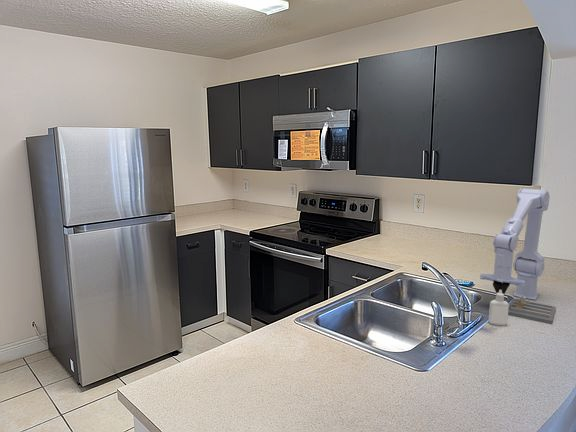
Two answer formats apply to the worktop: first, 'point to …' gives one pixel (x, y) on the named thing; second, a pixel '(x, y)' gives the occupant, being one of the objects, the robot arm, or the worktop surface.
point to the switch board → (533, 311)
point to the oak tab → (519, 304)
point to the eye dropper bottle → (498, 310)
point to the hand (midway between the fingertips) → (499, 301)
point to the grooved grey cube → (522, 298)
